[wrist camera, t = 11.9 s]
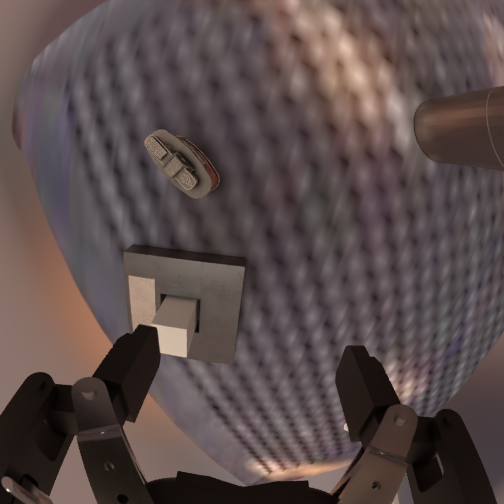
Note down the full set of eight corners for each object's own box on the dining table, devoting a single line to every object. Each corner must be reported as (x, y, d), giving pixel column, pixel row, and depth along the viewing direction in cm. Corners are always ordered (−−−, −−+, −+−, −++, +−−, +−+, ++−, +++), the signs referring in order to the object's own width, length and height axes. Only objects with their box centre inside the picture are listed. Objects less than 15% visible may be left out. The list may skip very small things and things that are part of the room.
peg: (199, 291, 36) (186, 329, 27) (198, 316, 37) (186, 357, 28) (171, 287, 36) (150, 323, 27) (171, 312, 37) (153, 351, 28)
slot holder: (245, 258, 34) (245, 267, 31) (233, 351, 39) (232, 365, 36) (132, 244, 34) (123, 252, 30) (138, 336, 38) (131, 348, 35)
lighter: (226, 178, 31) (216, 184, 22) (205, 197, 32) (187, 211, 22) (182, 130, 29) (154, 117, 20) (162, 149, 30) (127, 146, 20)
